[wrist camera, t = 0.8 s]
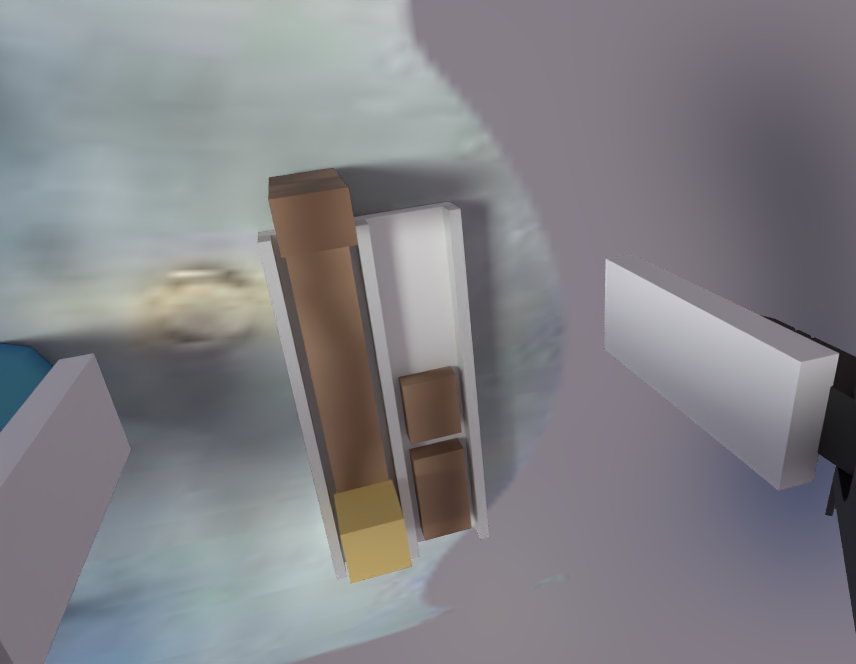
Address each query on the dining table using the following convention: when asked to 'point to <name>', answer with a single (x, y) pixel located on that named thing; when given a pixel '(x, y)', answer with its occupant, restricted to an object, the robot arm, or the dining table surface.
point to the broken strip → (436, 451)
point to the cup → (18, 377)
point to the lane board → (393, 348)
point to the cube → (372, 531)
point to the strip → (330, 318)
